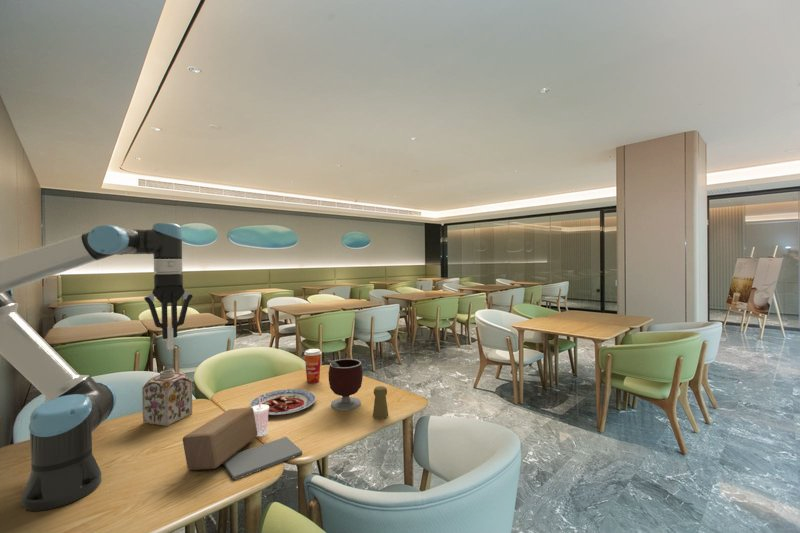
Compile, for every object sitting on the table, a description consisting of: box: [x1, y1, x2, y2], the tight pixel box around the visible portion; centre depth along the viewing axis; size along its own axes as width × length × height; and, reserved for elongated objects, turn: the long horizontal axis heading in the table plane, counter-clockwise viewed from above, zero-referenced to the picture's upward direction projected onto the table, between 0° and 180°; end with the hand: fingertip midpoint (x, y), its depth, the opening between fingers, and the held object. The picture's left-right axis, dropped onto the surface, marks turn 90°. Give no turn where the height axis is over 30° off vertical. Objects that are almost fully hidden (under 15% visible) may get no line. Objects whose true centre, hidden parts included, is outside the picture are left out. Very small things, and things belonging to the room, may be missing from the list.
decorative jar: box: [141, 369, 193, 427], centre depth 138 cm, size 12×12×18 cm
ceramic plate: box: [249, 388, 317, 416], centre depth 150 cm, size 26×26×3 cm
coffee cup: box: [303, 348, 322, 384], centre depth 179 cm, size 8×8×15 cm
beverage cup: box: [252, 392, 269, 437], centre depth 126 cm, size 6×6×14 cm
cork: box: [372, 385, 389, 420], centre depth 140 cm, size 6×6×11 cm
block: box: [182, 406, 258, 471], centre depth 113 cm, size 10×10×20 cm
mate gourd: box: [326, 358, 364, 411], centre depth 150 cm, size 16×14×20 cm
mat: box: [222, 436, 303, 480], centre depth 111 cm, size 20×12×1 cm, turn 130°
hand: (170, 348), depth 114 cm, fingers closed
